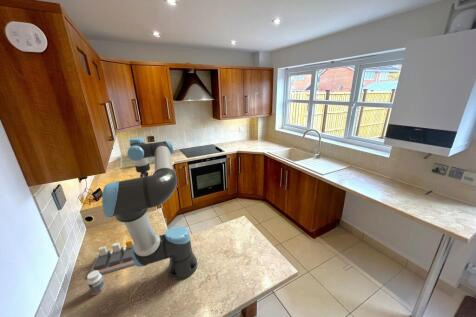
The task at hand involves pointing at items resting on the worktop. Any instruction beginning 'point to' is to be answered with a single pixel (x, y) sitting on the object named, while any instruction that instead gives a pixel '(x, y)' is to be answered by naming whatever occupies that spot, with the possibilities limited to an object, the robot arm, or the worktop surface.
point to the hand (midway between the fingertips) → (149, 200)
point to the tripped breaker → (129, 243)
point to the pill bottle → (95, 282)
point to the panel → (112, 259)
